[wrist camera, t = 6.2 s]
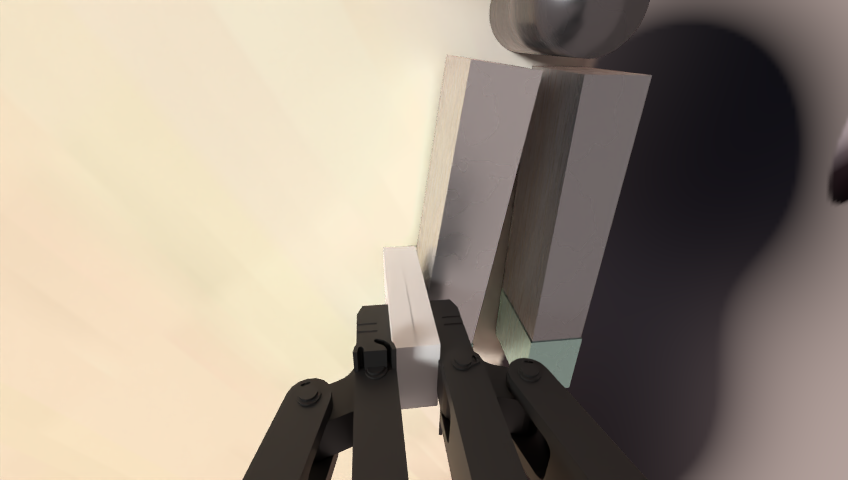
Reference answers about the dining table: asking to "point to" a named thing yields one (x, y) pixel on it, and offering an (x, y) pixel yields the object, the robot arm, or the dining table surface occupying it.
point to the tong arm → (472, 177)
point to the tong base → (565, 171)
